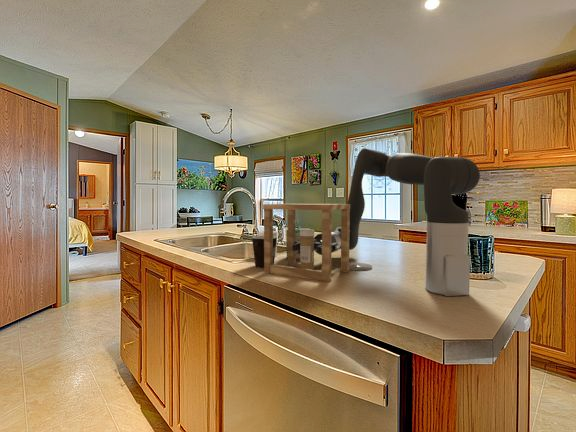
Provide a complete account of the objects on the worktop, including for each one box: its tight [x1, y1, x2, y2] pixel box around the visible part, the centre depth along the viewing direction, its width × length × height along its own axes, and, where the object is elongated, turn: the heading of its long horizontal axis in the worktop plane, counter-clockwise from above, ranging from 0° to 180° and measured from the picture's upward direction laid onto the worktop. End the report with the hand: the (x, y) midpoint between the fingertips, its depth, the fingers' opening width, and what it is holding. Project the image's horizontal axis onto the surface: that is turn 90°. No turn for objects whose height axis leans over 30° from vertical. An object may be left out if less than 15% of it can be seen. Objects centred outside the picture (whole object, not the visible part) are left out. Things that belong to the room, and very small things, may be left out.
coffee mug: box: [251, 235, 278, 269], centre depth 109 cm, size 12×9×10 cm
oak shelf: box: [262, 203, 350, 283], centre depth 100 cm, size 17×22×22 cm
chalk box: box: [285, 220, 313, 261], centre depth 125 cm, size 9×9×15 cm
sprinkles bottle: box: [299, 228, 315, 270], centre depth 101 cm, size 5×5×13 cm
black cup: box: [257, 230, 279, 257], centre depth 129 cm, size 8×8×10 cm
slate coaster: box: [349, 262, 373, 272], centre depth 108 cm, size 10×10×1 cm
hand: (305, 248), depth 100 cm, fingers open, 8 cm apart
